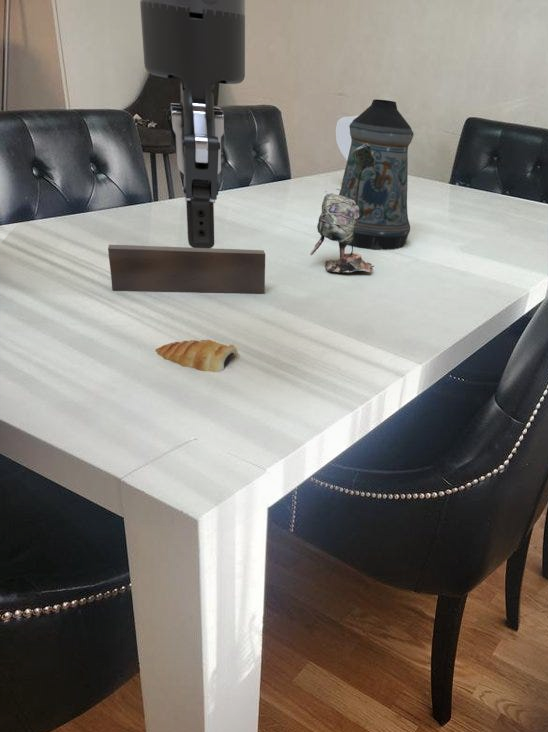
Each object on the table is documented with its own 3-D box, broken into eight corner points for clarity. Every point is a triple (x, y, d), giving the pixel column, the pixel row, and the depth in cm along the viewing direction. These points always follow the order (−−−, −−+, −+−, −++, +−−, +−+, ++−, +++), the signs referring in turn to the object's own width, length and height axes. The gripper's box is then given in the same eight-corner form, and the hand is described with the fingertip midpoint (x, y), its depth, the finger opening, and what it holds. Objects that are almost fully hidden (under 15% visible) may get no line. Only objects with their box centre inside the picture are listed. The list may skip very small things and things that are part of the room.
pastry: (143, 373, 73) (141, 341, 71) (173, 352, 78) (172, 322, 76) (220, 390, 71) (220, 358, 69) (245, 368, 77) (246, 337, 75)
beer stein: (336, 248, 126) (348, 100, 112) (321, 223, 142) (329, 91, 128) (417, 252, 130) (438, 110, 116) (393, 228, 145) (409, 100, 132)
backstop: (112, 290, 94) (107, 248, 90) (113, 286, 95) (108, 244, 92) (264, 293, 99) (265, 253, 96) (262, 289, 101) (263, 250, 98)
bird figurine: (315, 258, 118) (323, 136, 107) (376, 267, 118) (390, 145, 107) (306, 270, 112) (313, 141, 101) (371, 279, 111) (385, 150, 100)
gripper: (141, -1, 52) (156, 225, 61) (137, -7, 41) (156, 267, 51) (236, 11, 54) (236, 228, 63) (255, 9, 43) (252, 269, 53)
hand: (201, 245), depth 57 cm, fingers closed
